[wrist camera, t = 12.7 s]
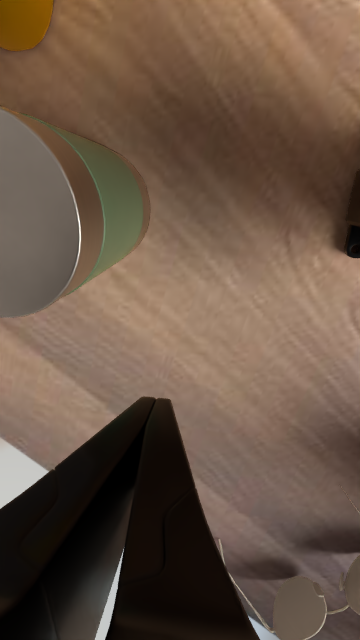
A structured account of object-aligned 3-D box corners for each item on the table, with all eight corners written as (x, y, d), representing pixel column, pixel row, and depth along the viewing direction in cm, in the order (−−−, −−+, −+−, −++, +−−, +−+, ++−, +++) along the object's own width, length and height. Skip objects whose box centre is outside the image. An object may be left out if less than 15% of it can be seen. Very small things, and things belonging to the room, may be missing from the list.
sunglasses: (268, 587, 31) (270, 649, 26) (215, 527, 31) (208, 580, 26) (401, 540, 26) (433, 606, 21) (341, 468, 26) (360, 520, 21)
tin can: (150, 145, 17) (68, 89, 8) (152, 264, 20) (91, 326, 10) (37, 144, 18) (-158, 92, 9) (53, 259, 20) (-84, 313, 11)
